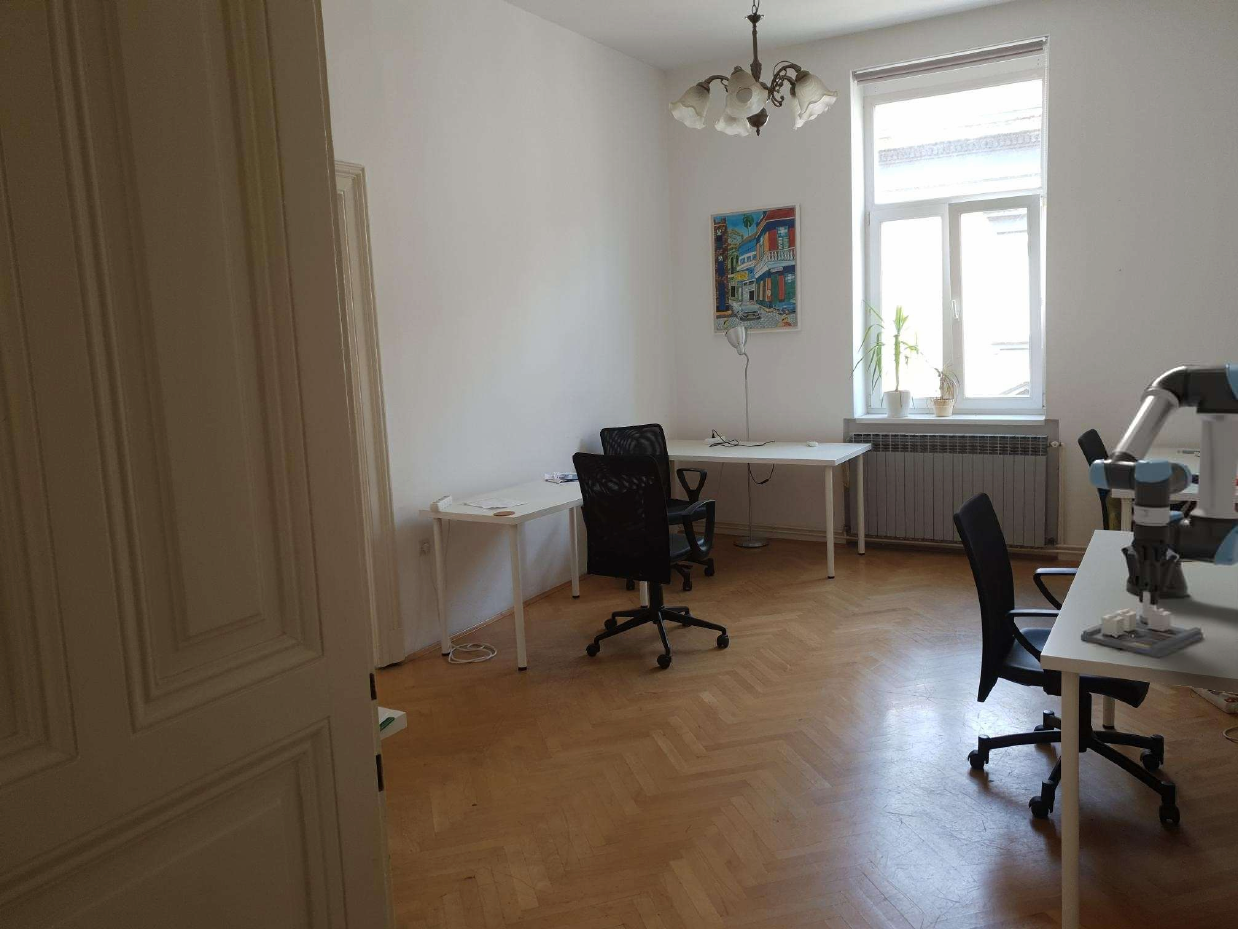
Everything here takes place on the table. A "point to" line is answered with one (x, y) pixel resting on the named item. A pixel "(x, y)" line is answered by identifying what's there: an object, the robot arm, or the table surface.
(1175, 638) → the switch bank
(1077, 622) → the table surface
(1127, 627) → the white slider knob
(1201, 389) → the robot arm
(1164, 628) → the white notched block
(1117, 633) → the white ridged block
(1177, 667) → the table surface
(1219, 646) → the table surface
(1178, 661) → the table surface
